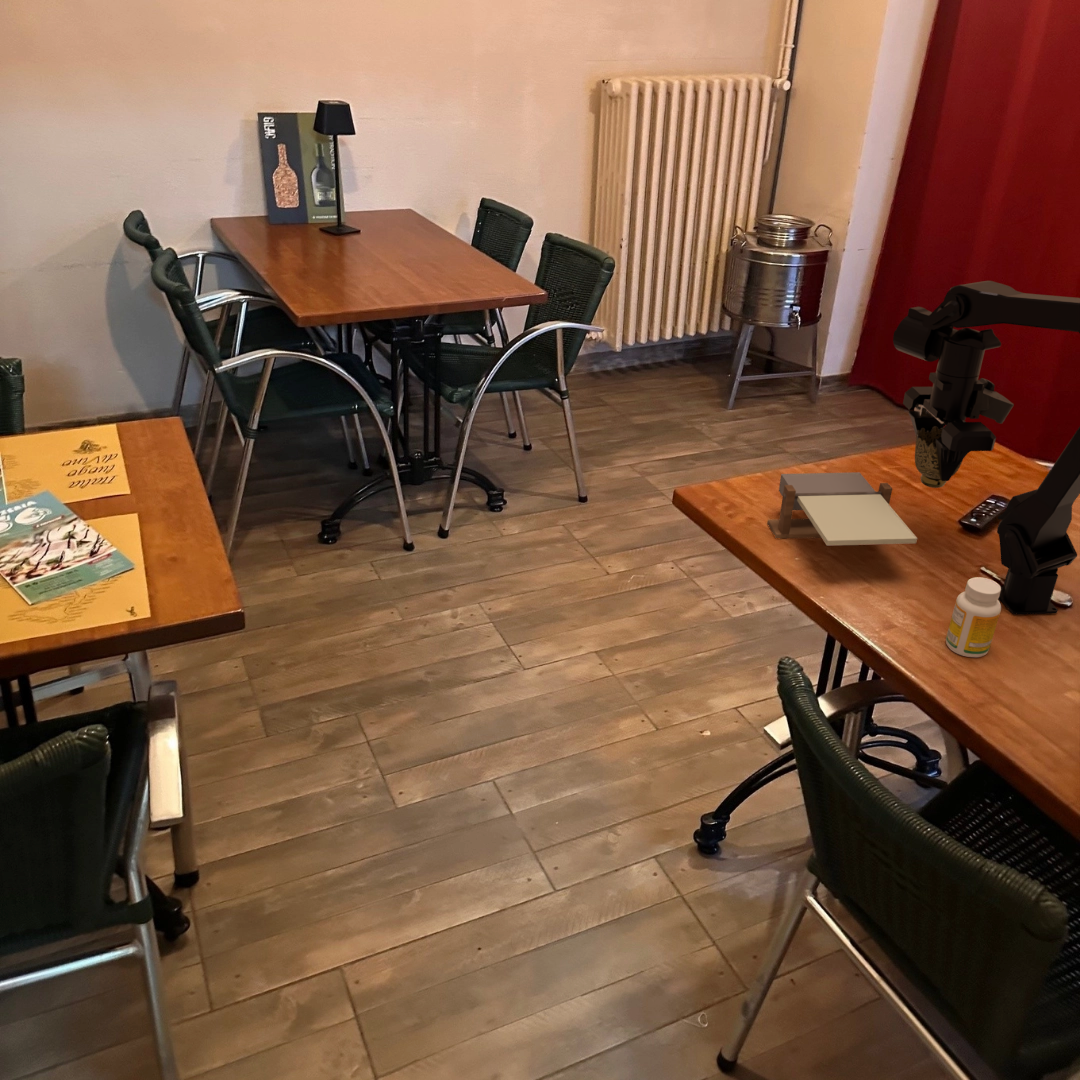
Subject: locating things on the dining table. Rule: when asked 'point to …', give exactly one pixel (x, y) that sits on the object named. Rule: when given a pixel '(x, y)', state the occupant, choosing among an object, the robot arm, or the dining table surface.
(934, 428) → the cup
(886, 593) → the dining table surface
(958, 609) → the supplement bottle
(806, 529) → the post frame
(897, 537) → the trapdoor
